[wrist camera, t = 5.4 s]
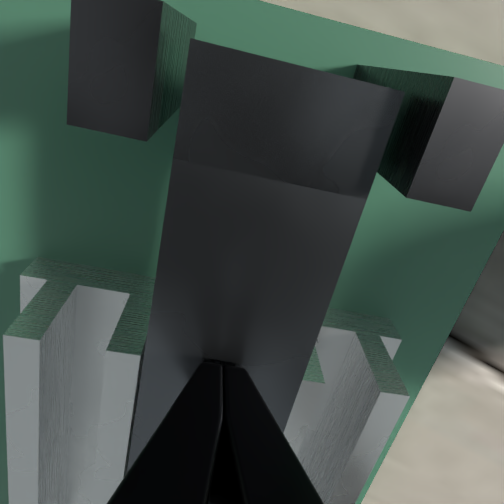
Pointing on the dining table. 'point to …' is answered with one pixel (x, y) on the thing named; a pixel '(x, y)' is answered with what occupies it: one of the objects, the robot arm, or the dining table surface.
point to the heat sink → (141, 287)
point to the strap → (256, 222)
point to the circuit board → (159, 169)
